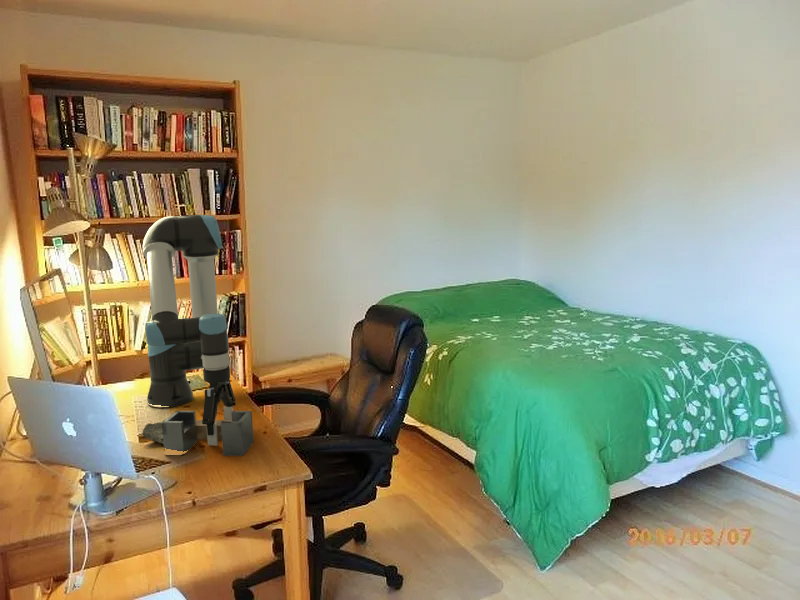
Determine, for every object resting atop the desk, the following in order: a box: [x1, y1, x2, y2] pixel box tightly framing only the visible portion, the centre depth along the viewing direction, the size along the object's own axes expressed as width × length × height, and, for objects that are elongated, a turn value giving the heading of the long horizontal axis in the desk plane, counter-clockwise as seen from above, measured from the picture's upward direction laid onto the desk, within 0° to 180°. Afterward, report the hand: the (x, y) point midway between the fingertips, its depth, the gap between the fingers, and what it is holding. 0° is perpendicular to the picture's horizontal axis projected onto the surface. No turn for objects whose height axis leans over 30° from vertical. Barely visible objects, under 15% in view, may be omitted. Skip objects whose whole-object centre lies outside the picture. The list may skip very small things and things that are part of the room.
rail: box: [196, 419, 254, 440], centre depth 181 cm, size 18×4×4 cm, turn 86°
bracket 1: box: [161, 410, 199, 452], centre depth 173 cm, size 9×6×10 cm, turn 176°
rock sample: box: [141, 421, 164, 445], centre depth 179 cm, size 10×8×9 cm
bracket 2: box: [221, 410, 255, 457], centre depth 171 cm, size 9×6×10 cm, turn 176°
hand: (221, 435), depth 181 cm, fingers open, 13 cm apart
